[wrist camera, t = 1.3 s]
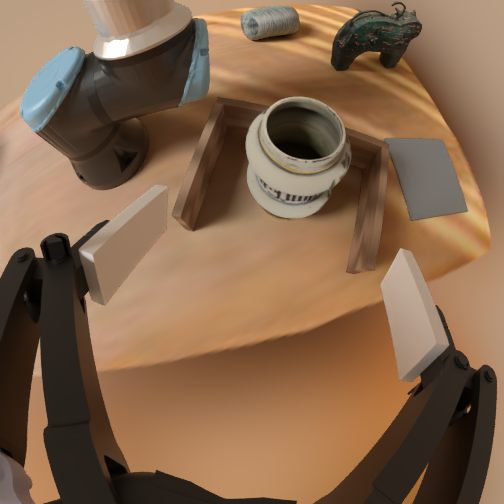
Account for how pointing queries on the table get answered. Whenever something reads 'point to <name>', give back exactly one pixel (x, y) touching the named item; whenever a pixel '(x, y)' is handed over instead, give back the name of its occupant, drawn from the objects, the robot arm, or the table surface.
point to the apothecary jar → (296, 157)
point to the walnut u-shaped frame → (238, 122)
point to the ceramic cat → (375, 37)
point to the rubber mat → (426, 177)
